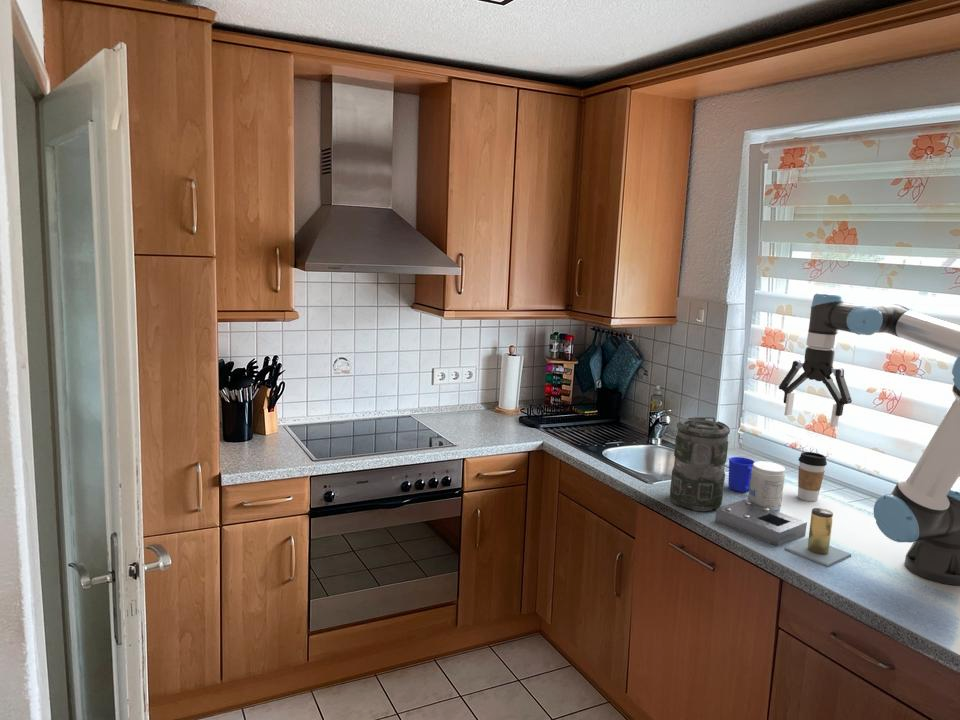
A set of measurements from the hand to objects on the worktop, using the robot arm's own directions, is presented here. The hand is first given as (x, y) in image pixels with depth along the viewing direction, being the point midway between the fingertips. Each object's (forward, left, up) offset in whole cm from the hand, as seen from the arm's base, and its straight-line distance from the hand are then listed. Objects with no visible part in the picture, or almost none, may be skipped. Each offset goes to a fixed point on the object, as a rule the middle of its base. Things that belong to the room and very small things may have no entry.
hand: (810, 420), depth 206 cm
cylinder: (-14, +14, -31) cm, 37 cm away
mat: (-14, +14, -32) cm, 37 cm away
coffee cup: (+10, -24, -32) cm, 42 cm away
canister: (+27, +12, -32) cm, 43 cm away
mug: (+25, -10, -32) cm, 42 cm away
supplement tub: (+11, 0, -32) cm, 34 cm away
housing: (+4, +13, -32) cm, 34 cm away
